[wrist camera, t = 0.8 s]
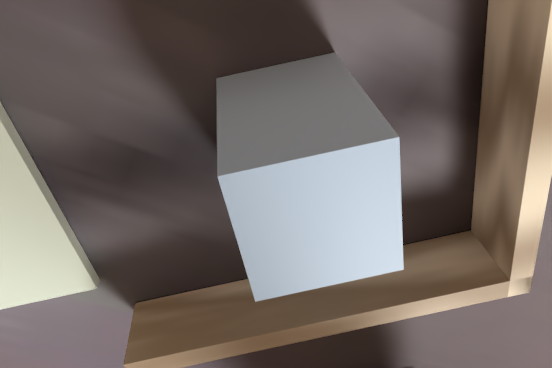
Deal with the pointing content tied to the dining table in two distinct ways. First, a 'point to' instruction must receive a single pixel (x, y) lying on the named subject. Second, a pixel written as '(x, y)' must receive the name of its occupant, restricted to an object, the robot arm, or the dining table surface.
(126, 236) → the dining table surface
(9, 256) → the pad
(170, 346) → the u-shaped wooden frame
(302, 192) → the block
